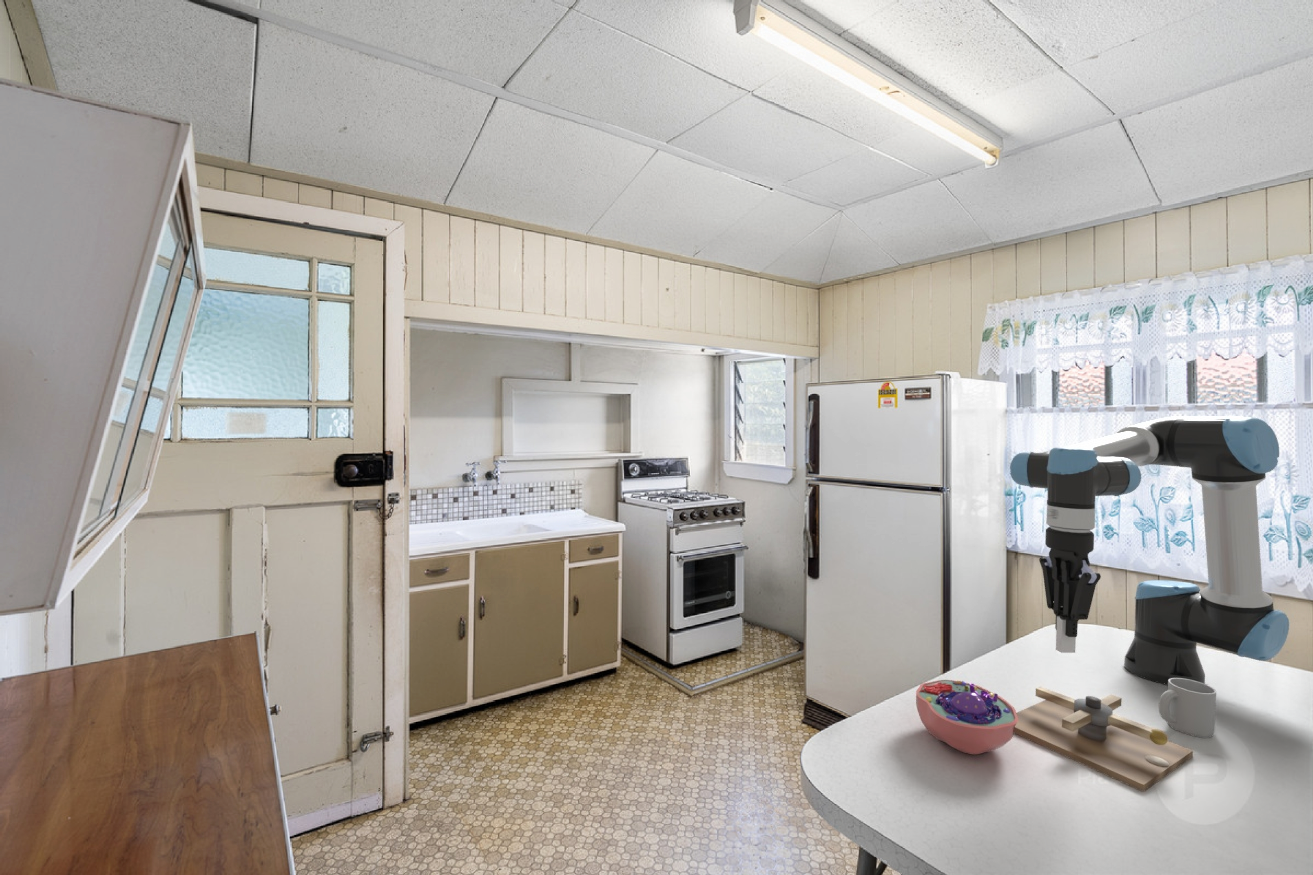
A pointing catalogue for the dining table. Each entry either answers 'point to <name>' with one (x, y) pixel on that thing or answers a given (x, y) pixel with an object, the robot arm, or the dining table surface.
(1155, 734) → the capstan
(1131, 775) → the stand
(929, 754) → the dining table surface
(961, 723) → the cell model
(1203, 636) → the robot arm
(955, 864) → the dining table surface
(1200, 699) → the cup
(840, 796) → the dining table surface
